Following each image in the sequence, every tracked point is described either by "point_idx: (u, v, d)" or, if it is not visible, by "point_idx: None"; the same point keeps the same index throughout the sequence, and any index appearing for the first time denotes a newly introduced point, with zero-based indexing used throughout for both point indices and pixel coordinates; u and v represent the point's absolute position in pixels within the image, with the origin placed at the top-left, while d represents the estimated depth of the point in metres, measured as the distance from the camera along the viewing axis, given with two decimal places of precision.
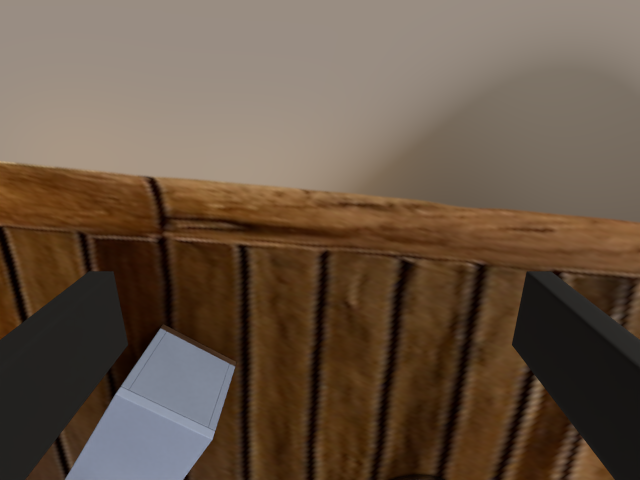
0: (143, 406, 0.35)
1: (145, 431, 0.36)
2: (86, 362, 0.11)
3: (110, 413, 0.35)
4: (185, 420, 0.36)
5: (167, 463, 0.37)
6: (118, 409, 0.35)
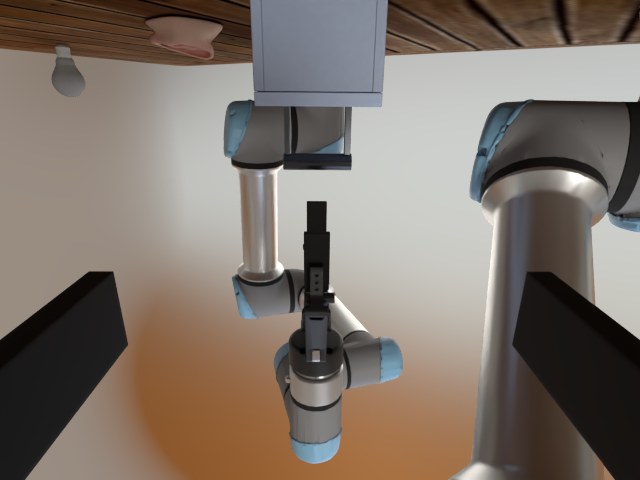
0: (289, 104, 0.30)
1: None
2: (86, 362, 0.11)
3: None
4: (342, 97, 0.29)
5: None
6: None
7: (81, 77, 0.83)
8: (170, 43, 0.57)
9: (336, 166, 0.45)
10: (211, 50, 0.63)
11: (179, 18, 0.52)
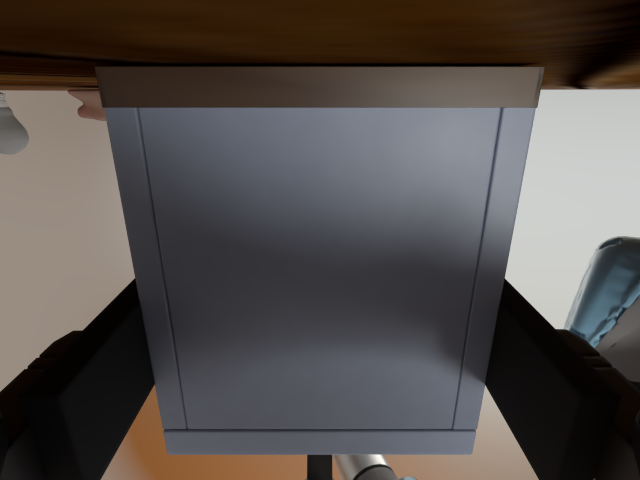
0: (251, 451, 0.12)
1: None
2: None
3: None
4: (378, 440, 0.12)
5: None
6: None
7: (21, 130, 0.65)
8: None
9: None
10: None
11: None
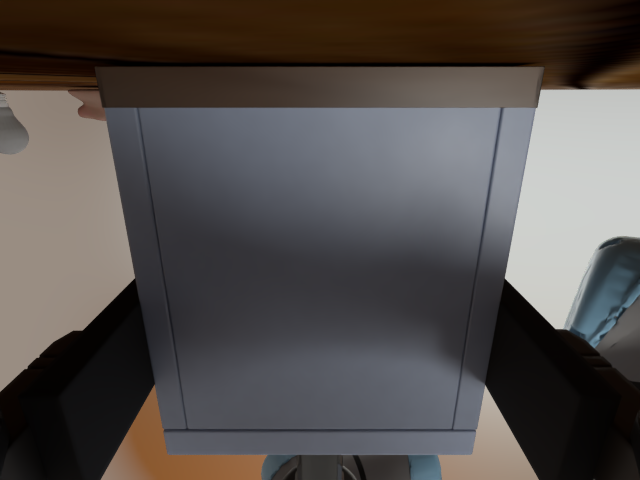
0: (250, 451, 0.12)
1: None
2: None
3: None
4: (378, 440, 0.12)
5: None
6: None
7: (22, 130, 0.65)
8: None
9: None
10: None
11: None
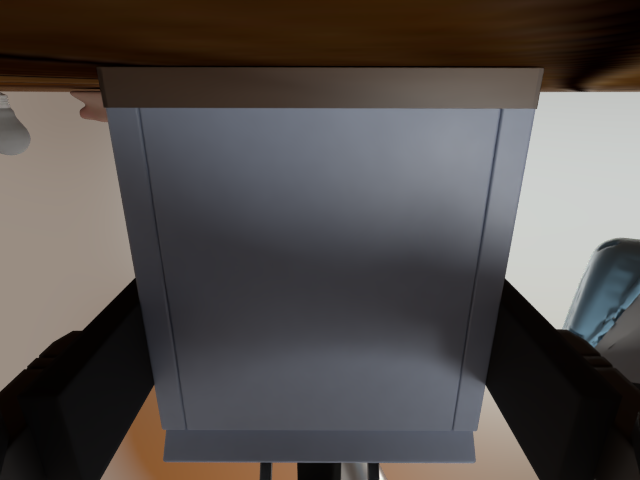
0: (249, 458, 0.12)
1: None
2: None
3: None
4: (377, 440, 0.12)
5: None
6: None
7: (23, 131, 0.66)
8: None
9: None
10: None
11: None
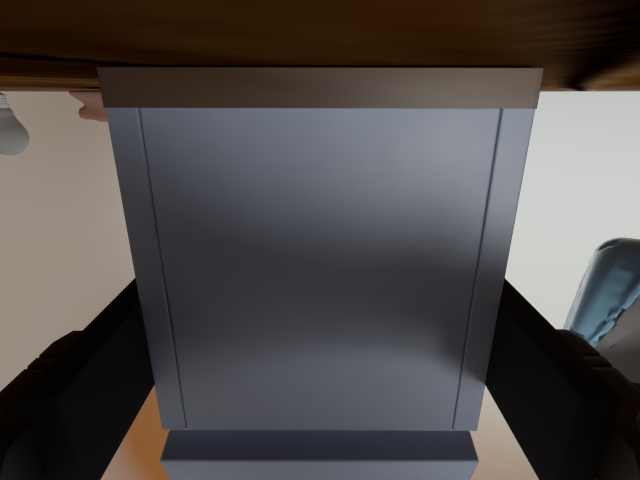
0: (247, 458, 0.12)
1: None
2: None
3: None
4: (377, 440, 0.12)
5: None
6: None
7: (22, 131, 0.65)
8: None
9: None
10: None
11: None
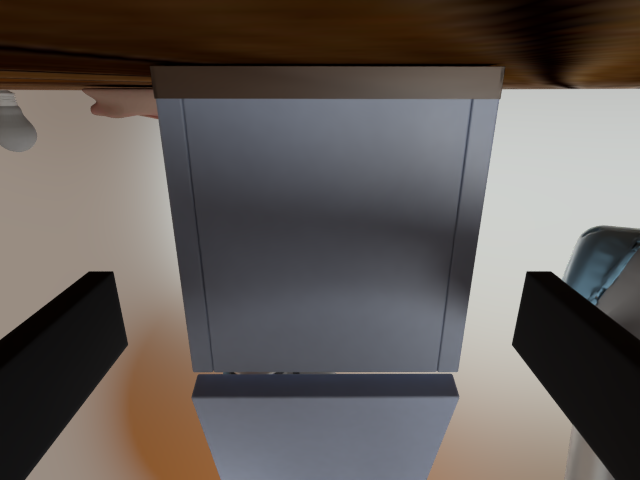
0: (265, 395, 0.14)
1: (304, 432, 0.15)
2: (86, 362, 0.11)
3: (214, 430, 0.15)
4: (374, 381, 0.15)
5: (383, 461, 0.17)
6: (221, 418, 0.15)
7: (30, 128, 0.67)
8: (119, 116, 0.42)
9: None
10: None
11: (125, 91, 0.37)
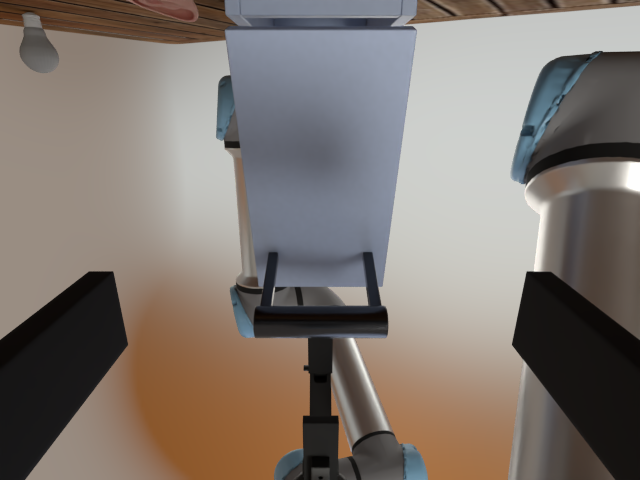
0: (277, 30, 0.20)
1: (305, 81, 0.21)
2: (86, 362, 0.11)
3: (239, 77, 0.21)
4: (356, 27, 0.20)
5: (365, 127, 0.23)
6: (245, 60, 0.20)
7: (53, 50, 0.73)
8: None
9: (358, 316, 0.23)
10: (194, 9, 0.53)
11: None
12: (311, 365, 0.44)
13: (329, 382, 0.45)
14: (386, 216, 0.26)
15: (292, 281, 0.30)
